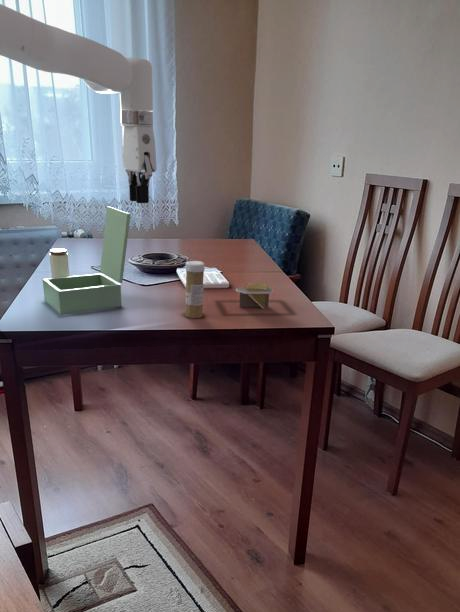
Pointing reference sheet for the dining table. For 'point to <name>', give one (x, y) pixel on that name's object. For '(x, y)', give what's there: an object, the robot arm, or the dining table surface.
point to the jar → (59, 263)
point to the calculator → (207, 278)
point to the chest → (82, 293)
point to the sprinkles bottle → (194, 289)
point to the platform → (254, 295)
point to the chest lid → (115, 243)
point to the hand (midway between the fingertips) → (139, 201)
